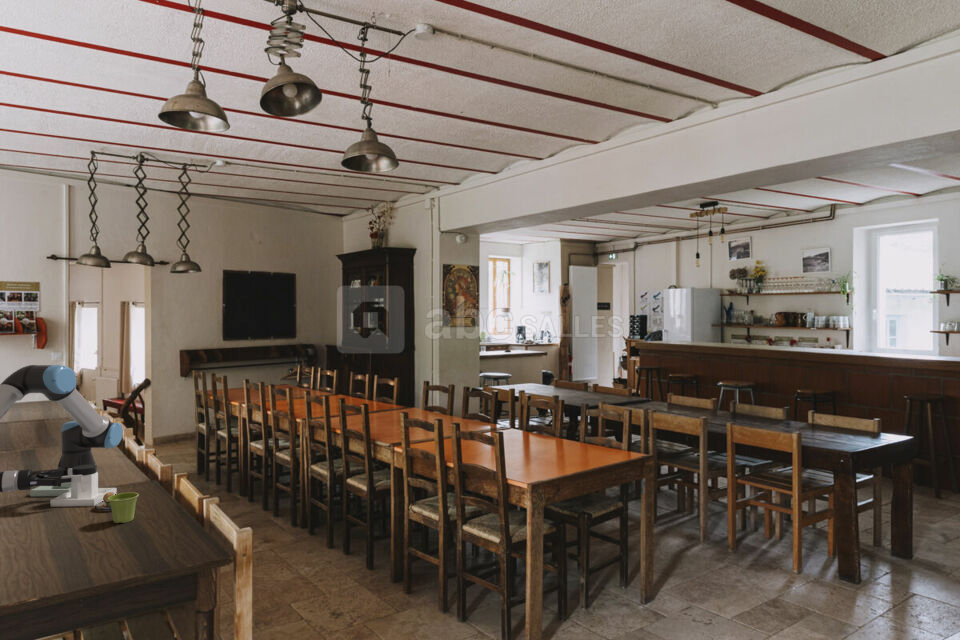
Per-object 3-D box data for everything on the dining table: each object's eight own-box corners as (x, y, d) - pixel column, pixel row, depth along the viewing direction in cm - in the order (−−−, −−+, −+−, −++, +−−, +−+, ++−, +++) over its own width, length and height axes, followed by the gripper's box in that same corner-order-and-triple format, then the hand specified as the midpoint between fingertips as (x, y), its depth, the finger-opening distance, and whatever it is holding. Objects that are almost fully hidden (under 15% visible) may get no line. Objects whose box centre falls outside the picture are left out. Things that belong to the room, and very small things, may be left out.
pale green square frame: (52, 486, 262) (52, 480, 262) (89, 486, 263) (89, 480, 263) (30, 496, 248) (30, 490, 248) (68, 495, 249) (68, 489, 249)
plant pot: (117, 527, 212) (117, 501, 212) (102, 522, 217) (102, 497, 217) (144, 519, 220) (144, 495, 220) (129, 514, 225) (129, 491, 225)
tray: (75, 494, 251) (75, 488, 251) (116, 493, 252) (116, 487, 252) (50, 506, 235) (50, 499, 235) (94, 505, 236) (94, 499, 236)
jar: (70, 501, 238) (70, 470, 237) (71, 496, 244) (71, 466, 244) (98, 498, 242) (98, 467, 242) (97, 493, 249) (97, 463, 249)
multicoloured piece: (124, 512, 229) (124, 491, 229) (88, 513, 227) (89, 493, 227) (135, 502, 241) (135, 483, 241) (102, 504, 239) (102, 484, 239)
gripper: (26, 482, 245) (89, 476, 254) (10, 499, 223) (79, 492, 232) (26, 463, 245) (89, 458, 254) (9, 478, 223) (79, 471, 232)
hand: (84, 474), depth 243 cm, fingers open, 13 cm apart
